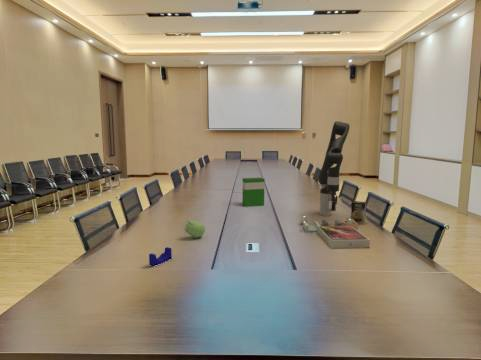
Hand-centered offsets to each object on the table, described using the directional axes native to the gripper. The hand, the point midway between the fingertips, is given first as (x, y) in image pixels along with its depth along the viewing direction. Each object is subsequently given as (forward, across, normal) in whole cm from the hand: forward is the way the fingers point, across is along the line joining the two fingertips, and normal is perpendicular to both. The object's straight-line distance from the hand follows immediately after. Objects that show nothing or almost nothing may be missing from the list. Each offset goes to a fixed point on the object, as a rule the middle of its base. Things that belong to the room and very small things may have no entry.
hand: (332, 209), depth 218 cm
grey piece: (+14, 0, 0) cm, 14 cm away
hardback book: (+14, +74, +50) cm, 90 cm away
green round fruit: (+14, -18, +88) cm, 91 cm away
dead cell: (+13, 0, -12) cm, 17 cm away
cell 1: (+14, +13, +16) cm, 25 cm away
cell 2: (+1, 0, 0) cm, 1 cm away
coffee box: (+14, +14, -22) cm, 29 cm away
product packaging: (+15, -20, -1) cm, 25 cm away
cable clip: (+14, -57, +100) cm, 115 cm away
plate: (+12, 0, 0) cm, 12 cm away
